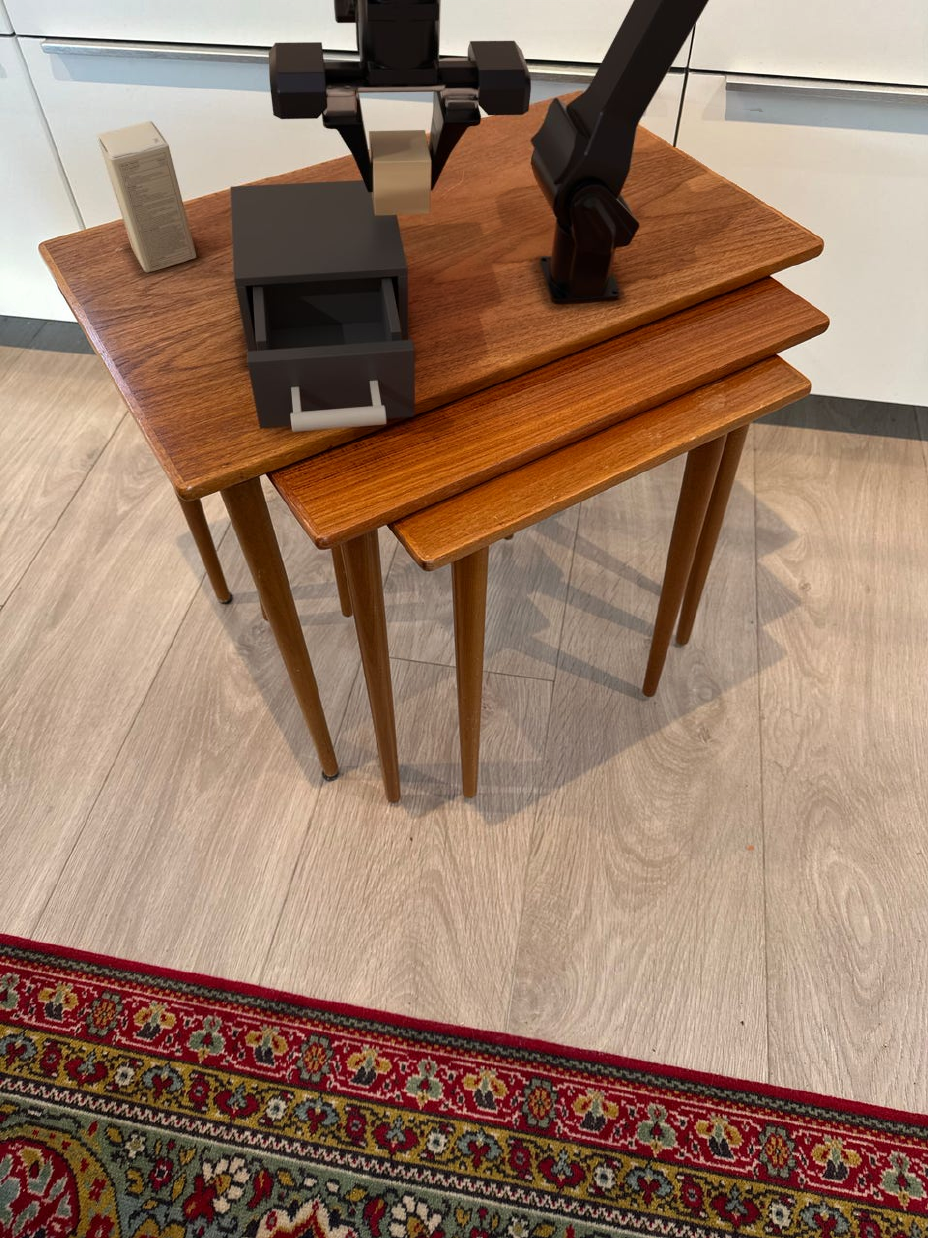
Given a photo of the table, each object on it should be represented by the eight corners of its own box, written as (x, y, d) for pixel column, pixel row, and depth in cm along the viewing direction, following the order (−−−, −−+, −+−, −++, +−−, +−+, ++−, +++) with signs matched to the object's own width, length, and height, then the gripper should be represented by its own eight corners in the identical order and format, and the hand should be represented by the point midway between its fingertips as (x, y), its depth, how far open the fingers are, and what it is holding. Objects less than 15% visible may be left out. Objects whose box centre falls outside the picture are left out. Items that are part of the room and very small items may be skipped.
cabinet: (408, 353, 80) (407, 267, 73) (250, 365, 78) (233, 278, 71) (391, 264, 87) (389, 178, 80) (245, 273, 85) (230, 185, 78)
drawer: (421, 454, 72) (422, 388, 66) (262, 468, 71) (248, 401, 65) (397, 324, 81) (396, 256, 75) (254, 334, 79) (242, 265, 73)
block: (430, 214, 74) (431, 160, 71) (374, 216, 74) (373, 161, 70) (424, 182, 77) (425, 129, 73) (370, 184, 76) (368, 130, 72)
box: (182, 234, 88) (155, 118, 79) (198, 259, 86) (172, 142, 77) (128, 249, 86) (94, 131, 77) (143, 274, 84) (110, 157, 75)
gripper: (516, -81, 67) (498, 133, 80) (256, -83, 65) (281, 137, 78) (543, -12, 61) (519, 207, 74) (258, -12, 59) (284, 214, 72)
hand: (400, 188), depth 74 cm, fingers closed on block, 4 cm apart
